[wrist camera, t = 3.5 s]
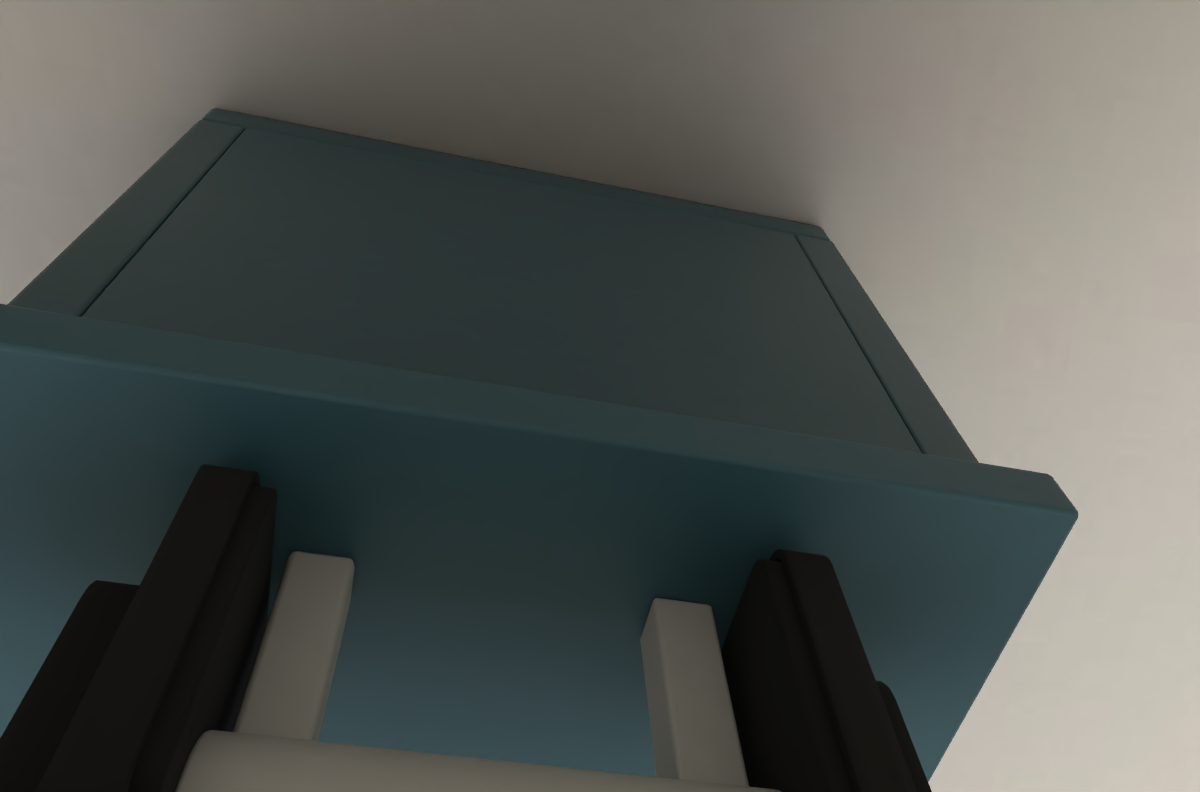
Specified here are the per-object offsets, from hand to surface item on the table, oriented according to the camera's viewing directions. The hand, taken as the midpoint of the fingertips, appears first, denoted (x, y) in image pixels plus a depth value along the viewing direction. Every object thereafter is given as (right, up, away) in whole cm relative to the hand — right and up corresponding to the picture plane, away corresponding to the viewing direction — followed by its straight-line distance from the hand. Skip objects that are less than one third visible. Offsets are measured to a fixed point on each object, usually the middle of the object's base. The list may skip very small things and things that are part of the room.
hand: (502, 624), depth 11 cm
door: (-1, -4, +4) cm, 5 cm away
